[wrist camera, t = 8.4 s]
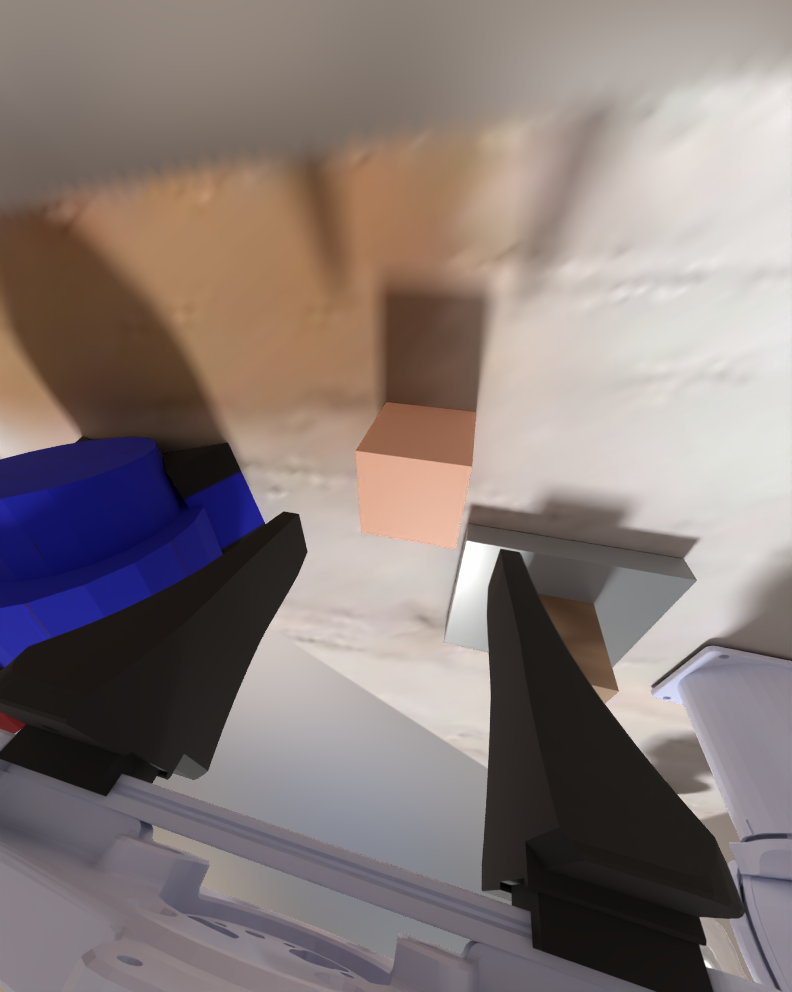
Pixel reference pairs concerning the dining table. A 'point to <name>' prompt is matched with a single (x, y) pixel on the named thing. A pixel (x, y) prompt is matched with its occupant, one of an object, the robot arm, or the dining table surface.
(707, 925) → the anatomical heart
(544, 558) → the base plate
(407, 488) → the terracotta block
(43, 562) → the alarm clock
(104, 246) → the dining table surface
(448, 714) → the dining table surface
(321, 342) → the dining table surface
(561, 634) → the walnut block
